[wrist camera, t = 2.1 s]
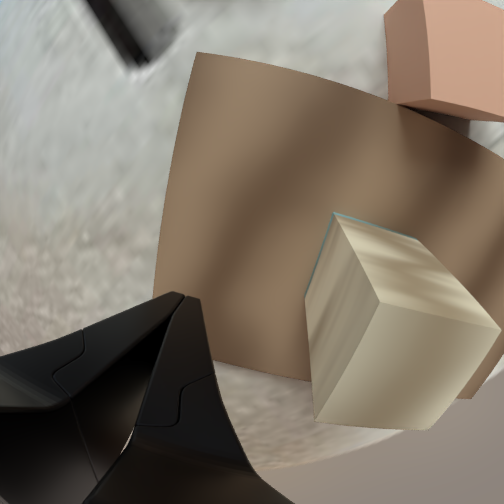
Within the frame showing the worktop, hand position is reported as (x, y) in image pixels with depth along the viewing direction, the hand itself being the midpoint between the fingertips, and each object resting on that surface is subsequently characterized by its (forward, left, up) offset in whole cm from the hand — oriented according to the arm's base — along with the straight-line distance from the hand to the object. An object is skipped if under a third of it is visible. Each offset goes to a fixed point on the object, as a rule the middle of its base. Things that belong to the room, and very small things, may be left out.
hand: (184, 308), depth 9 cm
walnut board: (-9, 0, -8) cm, 12 cm away
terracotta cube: (-8, -11, -8) cm, 16 cm away
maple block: (-7, 0, -7) cm, 10 cm away
